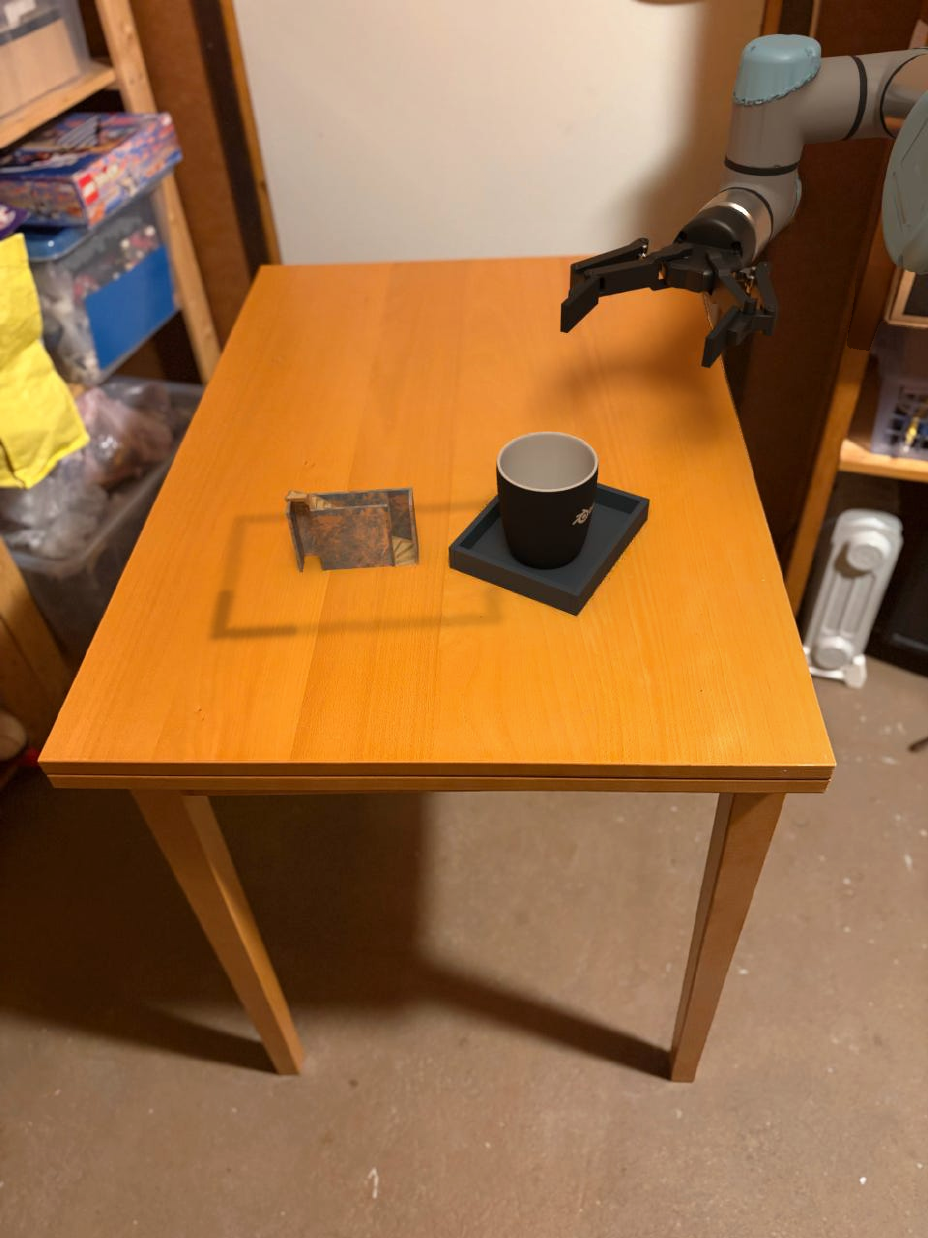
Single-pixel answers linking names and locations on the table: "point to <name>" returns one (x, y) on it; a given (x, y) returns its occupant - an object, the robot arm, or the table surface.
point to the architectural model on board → (354, 528)
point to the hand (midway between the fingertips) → (633, 335)
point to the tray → (563, 586)
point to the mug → (546, 496)
